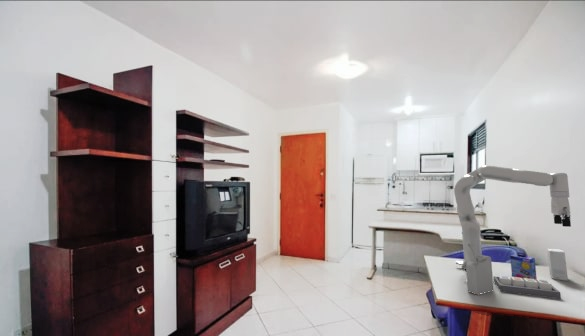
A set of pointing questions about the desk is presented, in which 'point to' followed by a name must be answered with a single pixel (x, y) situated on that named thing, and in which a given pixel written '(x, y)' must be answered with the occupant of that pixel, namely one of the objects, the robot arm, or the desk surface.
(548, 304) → the desk surface
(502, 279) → the key slate
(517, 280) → the key terracotta
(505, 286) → the grey compartment tray
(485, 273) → the fuel canister
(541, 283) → the key charcoal
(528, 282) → the key olive
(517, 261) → the ink cartridge box
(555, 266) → the skincare box
